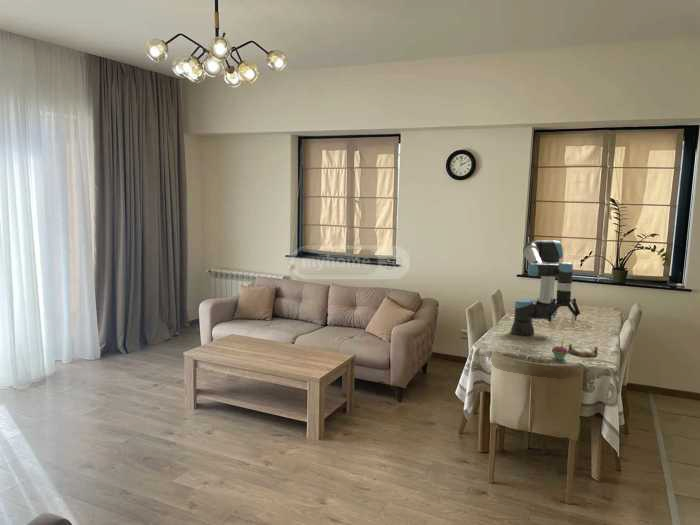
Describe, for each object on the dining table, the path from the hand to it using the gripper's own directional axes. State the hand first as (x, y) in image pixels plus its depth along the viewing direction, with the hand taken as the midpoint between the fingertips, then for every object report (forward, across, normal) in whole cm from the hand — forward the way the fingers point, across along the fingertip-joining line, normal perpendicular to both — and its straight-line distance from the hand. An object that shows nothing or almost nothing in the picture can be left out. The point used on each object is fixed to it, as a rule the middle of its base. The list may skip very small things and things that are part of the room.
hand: (561, 326), depth 299 cm
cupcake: (+19, 0, 0) cm, 19 cm away
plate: (+19, +20, +9) cm, 29 cm away
